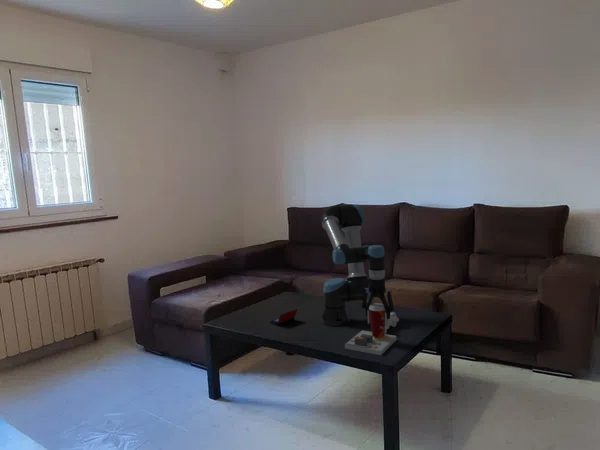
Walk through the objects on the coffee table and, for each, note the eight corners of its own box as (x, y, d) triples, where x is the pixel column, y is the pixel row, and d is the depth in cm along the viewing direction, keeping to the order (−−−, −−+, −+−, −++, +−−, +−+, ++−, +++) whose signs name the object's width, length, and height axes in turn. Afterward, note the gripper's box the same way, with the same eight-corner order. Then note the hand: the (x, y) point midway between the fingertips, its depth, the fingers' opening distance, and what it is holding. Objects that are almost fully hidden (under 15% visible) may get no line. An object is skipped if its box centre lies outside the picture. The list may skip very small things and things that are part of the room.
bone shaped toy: (385, 325, 244) (383, 310, 243) (400, 326, 239) (398, 311, 238) (372, 334, 232) (370, 318, 231) (388, 335, 227) (386, 319, 226)
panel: (344, 348, 214) (344, 338, 213) (362, 334, 231) (362, 324, 230) (381, 355, 205) (380, 344, 204) (396, 339, 221) (396, 330, 221)
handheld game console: (285, 317, 262) (285, 305, 261) (298, 321, 255) (298, 308, 254) (269, 323, 254) (268, 310, 253) (281, 327, 246) (280, 314, 245)
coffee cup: (386, 338, 215) (386, 308, 213) (369, 338, 217) (368, 307, 215) (387, 332, 223) (386, 302, 221) (370, 332, 225) (369, 302, 223)
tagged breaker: (354, 344, 212) (354, 337, 212) (357, 342, 215) (357, 335, 214) (364, 346, 210) (364, 339, 209) (367, 344, 212) (367, 337, 212)
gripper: (353, 277, 219) (355, 323, 222) (395, 281, 208) (396, 329, 211) (359, 274, 225) (361, 318, 228) (400, 278, 214) (401, 324, 217)
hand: (378, 323), depth 219 cm, fingers closed on coffee cup, 8 cm apart
